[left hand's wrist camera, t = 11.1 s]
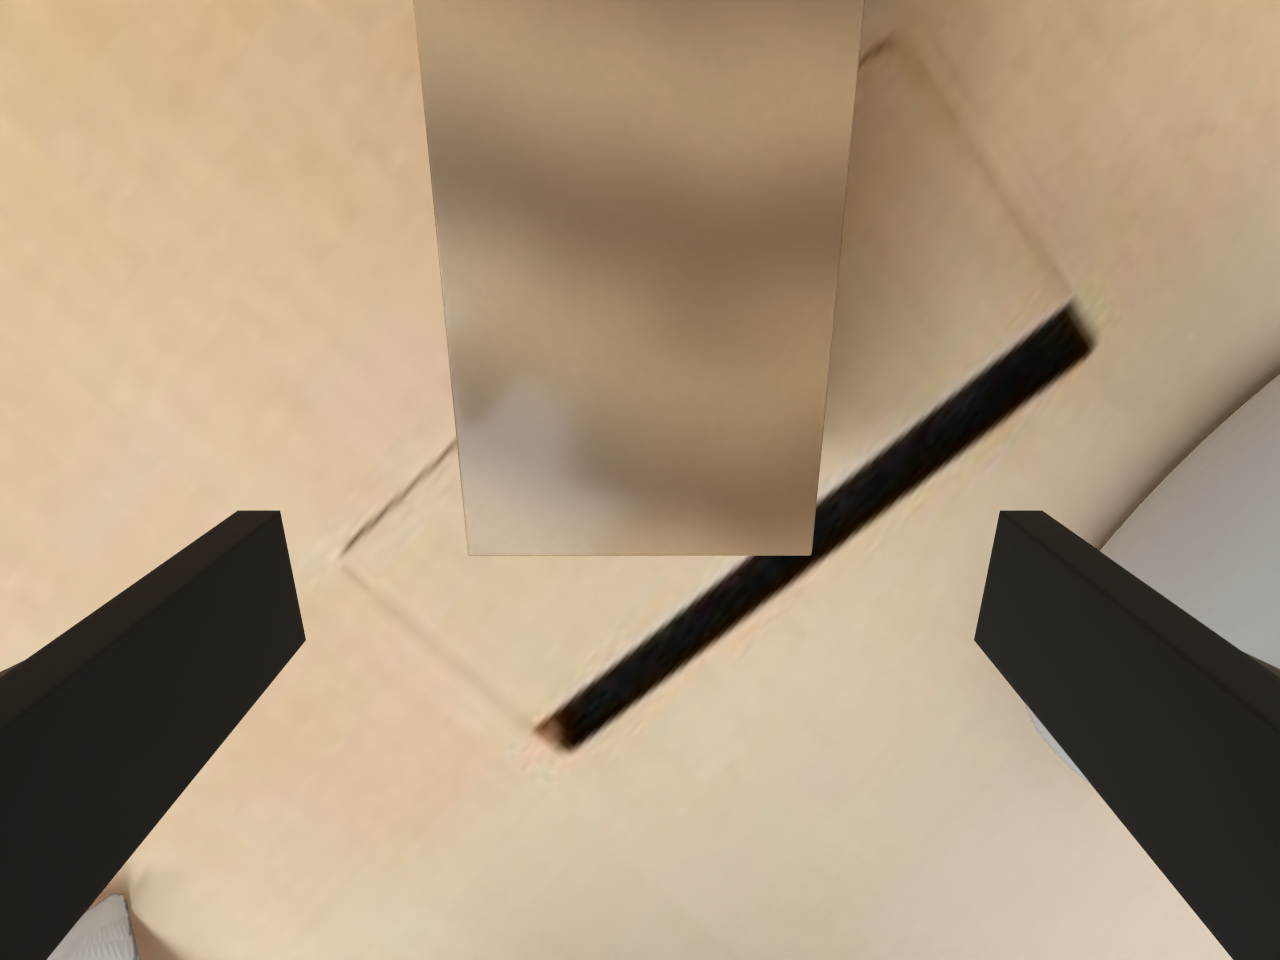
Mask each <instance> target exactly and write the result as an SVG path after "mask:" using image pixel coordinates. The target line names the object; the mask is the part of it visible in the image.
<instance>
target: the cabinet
mask: <svg viewBox="0 0 1280 960" xmlns="http://www.w3.org/2000/svg"><path fill="white" fill-rule="evenodd" d="M864 1H865V0H414V10H415V20H416V30H417V41H418V51H419V61H420V71H421V81H422V91H423V101H424V112H425V122H426V132H427V142H428V152H429V162H430V172H431V182H432V193H433V203H434V213H435V223H436V233H437V243H438V253H439V264H440V274H441V284H442V294H443V304H444V314H445V324H446V335H447V345H448V355H449V365H450V375H451V385H452V395H453V406H454V416H455V426H456V436H457V446H458V456H459V466H460V477H461V487H462V497H463V507H464V517H465V527H466V537H467V548H468V555H469V556H702V555H811V553H812V543H813V532H814V522H815V511H816V501H817V491H818V480H819V470H820V459H821V449H822V439H823V428H824V418H825V407H826V397H827V387H828V376H829V366H830V355H831V345H832V334H833V324H834V314H835V303H836V293H837V282H838V272H839V262H840V251H841V241H842V230H843V220H844V209H845V199H846V189H847V178H848V168H849V157H850V147H851V137H852V126H853V116H854V105H855V95H856V85H857V74H858V64H859V53H860V43H861V32H862V22H863V12H864Z"/></svg>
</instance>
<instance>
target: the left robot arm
mask: <svg viewBox="0 0 1280 960" xmlns="http://www.w3.org/2000/svg"><path fill="white" fill-rule="evenodd" d="M305 640H306V639H305V634H304V629H303V624H302V619H301V614H300V609H299V604H298V599H297V594H296V589H295V584H294V579H293V574H292V569H291V564H290V559H289V554H288V549H287V544H286V539H285V534H284V529H283V524H282V519H281V514H280V511H237V512H235V513H234V514H232V515H231V516H230V517H228V518H227V519H225V520H224V521H223V522H221V523H220V524H218V525H217V526H215V527H214V528H213V529H211V530H210V531H208V532H207V533H205V534H204V535H203V536H201V537H200V538H198V539H197V540H195V541H194V542H193V543H191V544H190V545H188V546H187V547H186V548H184V549H183V550H181V551H180V552H178V553H177V554H176V555H174V556H173V557H171V558H170V559H168V560H167V561H166V562H164V563H163V564H161V565H160V566H158V567H157V568H156V569H154V570H153V571H151V572H150V573H149V574H147V575H146V576H144V577H143V578H141V579H140V580H139V581H137V582H136V583H134V584H133V585H131V586H130V587H129V588H127V589H126V590H124V591H123V592H122V593H120V594H119V595H117V596H116V597H114V598H113V599H112V600H110V601H109V602H107V603H106V604H104V605H103V606H102V607H100V608H99V609H97V610H96V611H94V612H93V613H92V614H90V615H89V616H87V617H86V618H85V619H83V620H82V621H80V622H79V623H77V624H76V625H75V626H73V627H72V628H70V629H69V630H67V631H66V632H65V633H63V634H62V635H60V636H59V637H57V638H56V639H55V640H53V641H52V642H50V643H49V644H48V645H46V646H45V647H43V648H42V649H40V650H39V651H38V652H36V653H35V654H33V655H32V656H30V657H29V658H28V659H26V660H25V661H22V662H20V663H18V664H16V665H14V666H12V667H10V668H8V669H6V670H4V671H2V672H0V960H47V959H48V957H49V956H50V955H51V954H52V952H53V951H54V950H55V949H56V948H57V946H58V945H59V944H60V943H61V941H62V940H63V939H64V938H65V936H66V935H67V934H68V933H69V931H70V930H71V929H72V928H73V927H74V925H75V924H76V923H77V922H78V920H79V919H80V918H81V917H82V915H83V914H84V913H85V912H86V911H87V909H88V908H89V907H90V906H91V904H92V903H93V902H94V901H95V899H96V898H97V897H98V896H99V895H100V893H101V892H102V891H103V890H104V888H105V887H106V886H107V885H108V883H109V882H110V881H111V880H112V878H113V877H114V876H115V875H116V874H117V872H118V871H119V870H120V869H121V867H122V866H123V865H124V864H125V862H126V861H127V860H128V859H129V858H130V856H131V855H132V854H133V853H134V851H135V850H136V849H137V848H138V846H139V845H140V844H141V843H142V841H143V840H144V839H145V838H146V837H147V835H148V834H149V833H150V832H151V830H152V829H153V828H154V827H155V825H156V824H157V823H158V822H159V821H160V819H161V818H162V817H163V816H164V814H165V813H166V812H167V811H168V809H169V808H170V807H171V806H172V804H173V803H174V802H175V801H176V800H177V798H178V797H179V796H180V795H181V793H182V792H183V791H184V790H185V788H186V787H187V786H188V785H189V784H190V782H191V781H192V780H193V779H194V777H195V776H196V775H197V774H198V772H199V771H200V770H201V769H202V767H203V766H204V765H205V764H206V763H207V761H208V760H209V759H210V758H211V756H212V755H213V754H214V753H215V751H216V750H217V749H218V748H219V747H220V745H221V744H222V743H223V742H224V740H225V739H226V738H227V737H228V735H229V734H230V733H231V732H232V731H233V729H234V728H235V727H236V726H237V724H238V723H239V722H240V721H241V719H242V718H243V717H244V716H245V714H246V713H247V712H248V711H249V710H250V708H251V707H252V706H253V705H254V703H255V702H256V701H257V700H258V698H259V697H260V696H261V695H262V694H263V692H264V691H265V690H266V689H267V687H268V686H269V685H270V684H271V682H272V681H273V680H274V679H275V677H276V676H277V675H278V674H279V673H280V671H281V670H282V669H283V668H284V666H285V665H286V664H287V663H288V661H289V660H290V659H291V658H292V657H293V655H294V654H295V653H296V652H297V650H298V649H299V648H300V647H301V645H302V644H303V643H304V642H305ZM974 640H975V642H976V643H977V644H978V645H979V647H980V648H981V649H982V650H983V652H984V653H985V654H986V655H987V657H988V658H989V659H990V660H991V661H992V663H993V664H994V665H995V666H996V668H997V669H998V670H999V671H1000V673H1001V674H1002V675H1003V676H1004V677H1005V679H1006V680H1007V681H1008V682H1009V684H1010V685H1011V686H1012V687H1013V689H1014V690H1015V691H1016V692H1017V694H1018V695H1019V696H1020V697H1021V698H1022V700H1023V701H1024V702H1025V703H1026V705H1027V706H1028V707H1029V708H1030V710H1031V711H1032V712H1033V713H1034V714H1035V716H1036V717H1037V718H1038V719H1039V721H1040V722H1041V723H1042V724H1043V726H1044V727H1045V728H1046V729H1047V731H1048V732H1049V733H1050V734H1051V735H1052V737H1053V738H1054V739H1055V740H1056V742H1057V743H1058V744H1059V745H1060V747H1061V748H1062V749H1063V750H1064V751H1065V753H1066V754H1067V755H1068V756H1069V758H1070V759H1071V760H1072V761H1073V763H1074V764H1075V765H1076V766H1077V767H1078V769H1079V770H1080V771H1081V772H1082V774H1083V775H1084V776H1085V777H1086V779H1087V780H1088V781H1089V782H1090V784H1091V785H1092V786H1093V787H1094V788H1095V790H1096V791H1097V792H1098V793H1099V795H1100V796H1101V797H1102V798H1103V800H1104V801H1105V802H1106V803H1107V804H1108V806H1109V807H1110V808H1111V809H1112V811H1113V812H1114V813H1115V814H1116V816H1117V817H1118V818H1119V819H1120V821H1121V822H1122V823H1123V824H1124V825H1125V827H1126V828H1127V829H1128V830H1129V832H1130V833H1131V834H1132V835H1133V837H1134V838H1135V839H1136V840H1137V841H1138V843H1139V844H1140V845H1141V846H1142V848H1143V849H1144V850H1145V851H1146V853H1147V854H1148V855H1149V856H1150V858H1151V859H1152V860H1153V861H1154V862H1155V864H1156V865H1157V866H1158V867H1159V869H1160V870H1161V871H1162V872H1163V874H1164V875H1165V876H1166V877H1167V878H1168V880H1169V881H1170V882H1171V883H1172V885H1173V886H1174V887H1175V888H1176V890H1177V891H1178V892H1179V893H1180V895H1181V896H1182V897H1183V898H1184V899H1185V901H1186V902H1187V903H1188V904H1189V906H1190V907H1191V908H1192V909H1193V911H1194V912H1195V913H1196V914H1197V915H1198V917H1199V918H1200V919H1201V920H1202V922H1203V923H1204V924H1205V925H1206V927H1207V928H1208V929H1209V930H1210V931H1211V933H1212V934H1213V935H1214V936H1215V938H1216V939H1217V940H1218V941H1219V943H1220V944H1221V945H1222V946H1223V948H1224V949H1225V950H1226V951H1227V952H1228V954H1229V955H1230V956H1231V957H1232V959H1233V960H1280V669H1279V668H1277V667H1274V666H1272V665H1270V664H1268V663H1266V662H1264V661H1262V660H1260V659H1258V658H1255V657H1253V656H1251V655H1249V654H1247V653H1245V652H1243V651H1241V650H1240V649H1238V648H1237V647H1235V646H1234V645H1232V644H1231V643H1230V642H1228V641H1227V640H1225V639H1224V638H1223V637H1221V636H1220V635H1218V634H1217V633H1215V632H1214V631H1213V630H1211V629H1210V628H1208V627H1207V626H1205V625H1204V624H1203V623H1201V622H1200V621H1198V620H1197V619H1195V618H1194V617H1193V616H1191V615H1190V614H1188V613H1187V612H1186V611H1184V610H1183V609H1181V608H1180V607H1178V606H1177V605H1176V604H1174V603H1173V602H1171V601H1170V600H1168V599H1167V598H1166V597H1164V596H1163V595H1161V594H1160V593H1158V592H1157V591H1156V590H1154V589H1153V588H1151V587H1150V586H1149V585H1147V584H1146V583H1144V582H1143V581H1141V580H1140V579H1139V578H1137V577H1136V576H1134V575H1133V574H1131V573H1130V572H1129V571H1127V570H1126V569H1124V568H1123V567H1122V566H1120V565H1119V564H1117V563H1116V562H1114V561H1113V560H1112V559H1110V558H1109V557H1107V556H1106V555H1104V554H1103V553H1102V552H1100V551H1099V550H1097V549H1096V548H1094V547H1093V546H1092V545H1090V544H1089V543H1087V542H1086V541H1085V540H1083V539H1082V538H1080V537H1079V536H1077V535H1076V534H1075V533H1073V532H1072V531H1070V530H1069V529H1067V528H1066V527H1065V526H1063V525H1062V524H1060V523H1059V522H1057V521H1056V520H1055V519H1053V518H1052V517H1050V516H1049V515H1048V514H1046V513H1045V512H1043V511H1000V514H999V519H998V524H997V529H996V534H995V539H994V544H993V549H992V554H991V559H990V564H989V569H988V574H987V579H986V584H985V589H984V594H983V599H982V604H981V609H980V614H979V619H978V624H977V629H976V634H975V639H974Z"/></svg>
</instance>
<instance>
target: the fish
mask: <svg viewBox="0 0 1280 960" xmlns="http://www.w3.org/2000/svg"><path fill="white" fill-rule="evenodd" d="M47 960H140V958H139V953H138V949H137V944H136V940H135V936H134V933H133V929H132V925H131V922H130V918H129V913H128V906H127V902H126V900H125V898H124V896H123V895H122V894H118V893H117V894H112V895H110V896H108V897H107V898H105V899H104V900H102V901H101V902H99V903H98V904H96V905H95V906H93V907H92V908H90V909H89V910H88V911H87V912H85V913H84V914H83V915H82V917H81V918H80V919H79V920H78V922H77V923H76V924H75V925H74V927H73V928H72V929H71V930H70V931H69V933H68V934H67V935H66V936H65V938H64V939H63V940H62V941H61V943H60V944H59V945H58V946H57V948H56V949H55V950H54V951H53V952H52V954H51V955H50V956H49V957H48V959H47Z"/></svg>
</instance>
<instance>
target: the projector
mask: <svg viewBox="0 0 1280 960" xmlns="http://www.w3.org/2000/svg"><path fill="white" fill-rule="evenodd" d="M1100 552H1102V553H1103V554H1104V555H1106V556H1107V557H1109V558H1110V559H1112V560H1113V561H1114V562H1116V563H1117V564H1119V565H1120V566H1122V567H1123V568H1124V569H1126V570H1127V571H1129V572H1130V573H1131V574H1133V575H1134V576H1136V577H1137V578H1139V579H1140V580H1141V581H1143V582H1144V583H1146V584H1147V585H1149V586H1150V587H1151V588H1153V589H1154V590H1156V591H1157V592H1158V593H1160V594H1161V595H1163V596H1164V597H1166V598H1167V599H1168V600H1170V601H1171V602H1173V603H1174V604H1176V605H1177V606H1178V607H1180V608H1181V609H1183V610H1184V611H1186V612H1187V613H1188V614H1190V615H1191V616H1193V617H1194V618H1195V619H1197V620H1198V621H1200V622H1201V623H1203V624H1204V625H1205V626H1207V627H1208V628H1210V629H1211V630H1213V631H1214V632H1215V633H1217V634H1218V635H1220V636H1221V637H1223V638H1224V639H1225V640H1227V641H1228V642H1230V643H1231V644H1232V645H1234V646H1235V647H1237V648H1238V649H1240V650H1241V651H1243V652H1245V653H1247V654H1249V655H1251V656H1253V657H1255V658H1258V659H1260V660H1262V661H1264V662H1266V663H1268V664H1270V665H1272V666H1274V667H1277V668H1279V669H1280V374H1279V375H1278V376H1277V377H1275V378H1274V379H1273V380H1272V381H1271V382H1269V383H1268V384H1267V385H1266V386H1265V387H1263V388H1262V389H1261V390H1260V391H1259V392H1258V393H1256V394H1255V395H1254V396H1253V397H1252V398H1250V399H1249V400H1248V401H1247V402H1246V403H1245V404H1243V405H1242V406H1241V407H1240V408H1239V409H1238V410H1236V411H1235V412H1234V413H1233V414H1232V415H1231V416H1230V417H1229V418H1228V419H1227V420H1225V421H1224V422H1223V423H1222V424H1221V425H1220V426H1219V427H1218V428H1217V429H1215V430H1214V431H1213V432H1212V433H1211V434H1210V435H1209V436H1208V437H1207V438H1206V439H1204V440H1203V441H1202V442H1201V443H1200V444H1199V445H1198V446H1197V447H1196V448H1195V449H1194V450H1193V451H1192V452H1191V453H1190V454H1189V455H1188V456H1187V457H1186V458H1185V459H1184V460H1183V461H1182V462H1181V463H1180V464H1179V465H1178V466H1177V467H1176V468H1175V469H1174V470H1173V471H1172V472H1171V473H1170V474H1168V476H1167V477H1166V478H1165V479H1164V480H1163V481H1162V482H1161V483H1160V484H1159V485H1158V486H1157V487H1156V488H1155V489H1154V490H1153V491H1152V492H1151V493H1150V495H1149V496H1148V497H1147V498H1146V499H1145V500H1144V501H1143V502H1142V503H1141V504H1140V505H1139V506H1138V507H1137V508H1136V509H1135V511H1134V512H1133V513H1132V514H1131V515H1130V516H1129V517H1128V519H1127V520H1126V521H1125V522H1124V523H1123V524H1122V525H1121V526H1120V528H1119V529H1118V530H1117V531H1116V532H1115V533H1114V534H1113V535H1112V537H1111V538H1110V539H1109V540H1108V541H1107V543H1106V544H1105V545H1104V546H1103V547H1102V549H1101V550H1100ZM1025 704H1026V703H1025ZM1026 707H1027V710H1028V713H1029V715H1030V718H1031V720H1032V722H1033V724H1034V725H1035V727H1036V729H1037V731H1038V732H1039V733H1040V735H1041V736H1042V737H1043V739H1044V740H1045V741H1046V742H1047V744H1048V745H1049V746H1050V747H1051V748H1052V749H1053V751H1054V752H1055V753H1056V754H1057V755H1058V756H1059V757H1060V758H1061V759H1062V760H1063V761H1064V762H1065V763H1066V764H1067V765H1068V766H1069V767H1070V768H1072V769H1073V770H1074V771H1075V772H1076V773H1077V774H1079V775H1080V776H1081V777H1083V778H1084V779H1085V780H1087V779H1086V777H1085V776H1084V775H1083V774H1082V772H1081V771H1080V770H1079V769H1078V767H1077V766H1076V765H1075V764H1074V763H1073V761H1072V760H1071V759H1070V758H1069V756H1068V755H1067V754H1066V753H1065V751H1064V750H1063V749H1062V748H1061V747H1060V745H1059V744H1058V743H1057V742H1056V740H1055V739H1054V738H1053V737H1052V735H1051V734H1050V733H1049V732H1048V731H1047V729H1046V728H1045V727H1044V726H1043V724H1042V723H1041V722H1040V721H1039V719H1038V718H1037V717H1036V716H1035V714H1034V713H1033V712H1032V711H1031V710H1030V708H1029V707H1028V706H1027V705H1026ZM1087 781H1088V780H1087ZM1088 782H1089V781H1088ZM1089 783H1090V782H1089Z"/></svg>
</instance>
